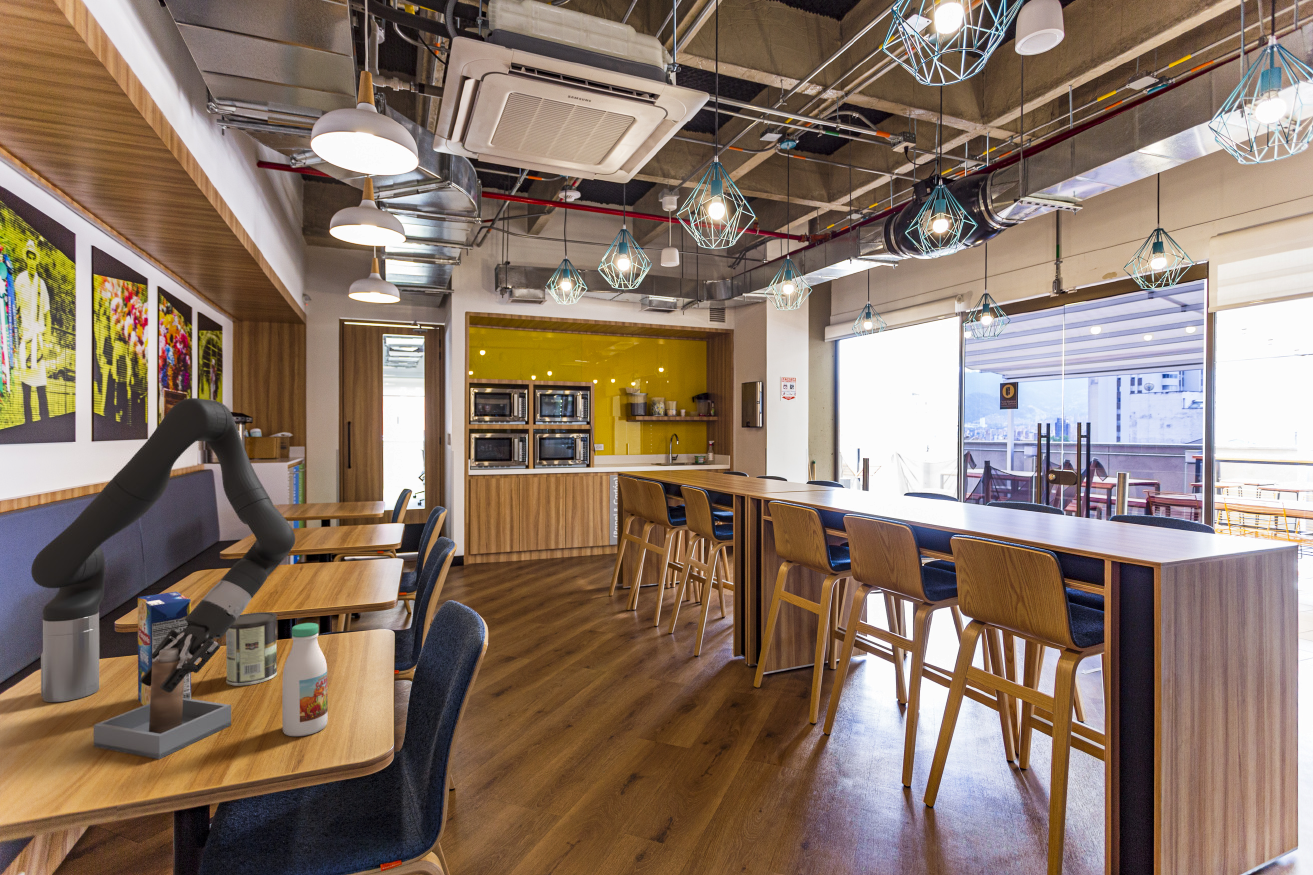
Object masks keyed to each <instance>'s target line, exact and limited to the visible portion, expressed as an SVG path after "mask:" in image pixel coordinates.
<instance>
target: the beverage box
mask: <svg viewBox="0 0 1313 875" xmlns="http://www.w3.org/2000/svg"><path fill="white" fill-rule="evenodd" d="M191 603H192V602H191V598H188V597H187V596H185V595H183V594H182V593H180V592H178V591H171V592H163V593H157V594H151V595H145V596H138V597H137V679H138V680H137V685H138V686H137V697H138V698H137V700H138V701H139V703H141V705H142V706H144V705H147V704H149V703H150V699H151V686H147V685H145V684H143V683H141V682H140V679H141V678H142V676H143V675H144V674H145V673H146V672H147V671H148V669H149V668H150V667H151V666H152V662H153V660H154V659H153V658H151V655H152V654H153V652H154V651H155V650H156V649H157V647H158V646H159V645H160V643H161V642H162V641H163V640H164V638H165V637H166V636H167V635H168V633H169V632H170V631H171V630H175V631H176V632H179V633H180V632H181V631H183V630H184V629H185V628H186V627H187V626H188V623H187V622H186V618H187V616H188V615H189V614H190V613H191V612H192V610H191V609H192V607H191V606H192V605H191ZM163 649H164V648H163ZM186 663H187V661H186ZM183 698H188V699H192V672H191V673H190V674H188V675H187V674H186V675H185V677H184V689H183Z"/></svg>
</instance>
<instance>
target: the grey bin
mask: <svg viewBox="0 0 1313 875" xmlns="http://www.w3.org/2000/svg"><path fill="white" fill-rule="evenodd" d="M149 720H150V703H149V704H147V705H142V706H139V707H136V708H134V709H132V710H129V711H125V712H124V713H121V714H118V715H116V716H113V717H111V718H108V719H106V720H103V721H100V722H98V723H96V724H93V748H97V749H98V748H99V749H102V748H103V750H110V751H113V750H114V751H115V752H120V753H125V754H131V755H136V756H141V757H145V756H146V757H147V758H152V759H156V760H160V759H163V758H165V757H167V756H169V755H172V754H173V753H176V752H178V751H180V750H182V749H184V748H186V747H188V746H190V745H192V744H194V743H197V742H199V741H201V740H203V739H205V738H207V737H209V736H212V735H214V734H216V733H219V732H220V731H222V730H224V729H227V728H229V727H230V726H232V705H231V704H227V703H221V702H214V701H208V700H207V701H206V700H201V699H193V698H191V699H188V698H183V711H182V725H180V726H177V727H175V728H173V729H171V730H168V731H166V732H164V733H161V734H159V733H153V732H149Z"/></svg>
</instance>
